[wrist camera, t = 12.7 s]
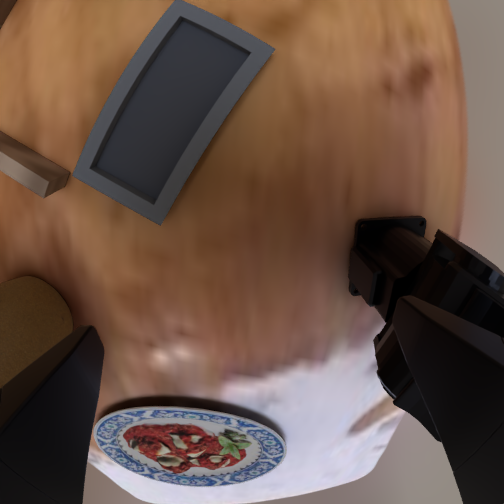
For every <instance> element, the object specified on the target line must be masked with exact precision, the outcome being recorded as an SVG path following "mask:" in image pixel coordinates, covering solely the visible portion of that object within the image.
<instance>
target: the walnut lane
mask: <svg viewBox="0 0 504 504" xmlns="http://www.w3.org/2000/svg"><path fill="white" fill-rule="evenodd" d="M16 1H17V0H0V28H1V26H2V25H3V23H4V21H5V19H6V17H7V16H8V14H9V12H10V11H11V9H12V7H13V6H14V4H15V2H16ZM0 170H1V171H2V172H4V173H5V174H7V175H8V176H10V177H11V178H13V179H14V180H16V181H17V182H19V183H20V184H22V185H24V186H25V187H27V188H28V189H30V190H31V191H33V192H34V193H36V194H38V195H39V196H41V197H42V198H45V197H47V196H49V195H51V194H52V193H54V192H56V191H58V190H60V189H62V188H63V187H65V184H66V181H67V179H68V176H69V174H70V172H68V171H67V170H65V169H63V168H62V167H60V166H58V165H56V164H55V163H53V162H51V161H50V160H48V159H46V158H45V157H43V156H41V155H39V154H38V153H36V152H34V151H33V150H31V149H29V148H28V147H26V146H24V145H23V144H21V143H19V142H18V141H16V140H14V139H13V138H11V137H9V136H8V135H6V134H4V133H3V132H1V131H0Z"/></svg>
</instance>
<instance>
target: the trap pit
mask: <svg viewBox="0 0 504 504" xmlns="http://www.w3.org/2000/svg"><path fill="white" fill-rule="evenodd" d="M274 51H275V49H274V48H273V47H271V46H270V45H268V44H266V43H265V42H263V41H261V40H260V39H258V38H256V37H255V36H253V35H251V34H249V33H248V32H246V31H244V30H242V29H240V28H239V27H237V26H235V25H233V24H231V23H229V22H227V21H225V20H223V19H221V18H219V17H217V16H215V15H213V14H211V13H209V12H207V11H205V10H203V9H200V8H198V7H196V6H194V5H191V4H189V3H187V2H184V1H182V0H175V1H174V2H173V3H172V5H171V6H170V7H169V8H168V9H167V11H166V12H165V13H164V14H163V16H162V17H161V18H160V20H159V21H158V22H157V23H156V25H155V26H154V27H153V29H152V30H151V32H150V33H149V34H148V36H147V37H146V39H145V40H144V41H143V43H142V44H141V46H140V47H139V49H138V50H137V52H136V53H135V55H134V56H133V58H132V59H131V61H130V62H129V64H128V65H127V67H126V69H125V70H124V72H123V74H122V75H121V77H120V79H119V80H118V82H117V84H116V85H115V87H114V89H113V91H112V92H111V94H110V96H109V98H108V100H107V101H106V103H105V105H104V107H103V109H102V111H101V113H100V115H99V117H98V119H97V121H96V123H95V125H94V127H93V129H92V131H91V133H90V135H89V137H88V139H87V142H86V144H85V146H84V148H83V151H82V153H81V155H80V158H79V160H78V162H77V165H76V167H75V170H74V172H73V175H72V176H74V177H75V178H77V179H79V180H81V181H82V182H84V183H86V184H87V185H89V186H91V187H93V188H94V189H96V190H98V191H100V192H101V193H103V194H105V195H107V196H108V197H110V198H112V199H114V200H115V201H117V202H119V203H121V204H123V205H124V206H126V207H128V208H130V209H131V210H133V211H135V212H137V213H139V214H140V215H142V216H144V217H146V218H147V219H149V220H151V221H153V222H155V223H156V224H158V225H160V226H161V224H162V222H163V221H164V219H165V217H166V215H167V213H168V212H169V210H170V208H171V206H172V204H173V203H174V201H175V199H176V197H177V196H178V194H179V192H180V190H181V189H182V187H183V185H184V184H185V182H186V180H187V178H188V177H189V175H190V173H191V172H192V170H193V168H194V167H195V165H196V164H197V162H198V160H199V159H200V157H201V155H202V154H203V152H204V151H205V149H206V147H207V146H208V144H209V143H210V141H211V140H212V138H213V136H214V135H215V133H216V132H217V130H218V129H219V127H220V126H221V124H222V123H223V121H224V120H225V118H226V117H227V115H228V114H229V112H230V111H231V109H232V108H233V106H234V105H235V104H236V102H237V101H238V99H239V98H240V96H241V95H242V94H243V92H244V91H245V89H246V88H247V87H248V85H249V84H250V82H251V81H252V80H253V78H254V77H255V76H256V74H257V73H258V72H259V70H260V69H261V68H262V66H263V65H264V64H265V62H266V61H267V60H268V58H269V57H270V56H271V54H272V53H273V52H274Z"/></svg>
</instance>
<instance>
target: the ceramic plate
mask: <svg viewBox="0 0 504 504" xmlns="http://www.w3.org/2000/svg"><path fill="white" fill-rule="evenodd" d="M94 438H95V441H96V443H97V445H98V447H99V448H100V449H101V450H102V451H103V452H104V453H105V454H106V455H107V456H108V457H109V458H110V459H111V460H113V461H114V462H116V463H117V464H119V465H120V466H122V467H124V468H126V469H128V470H130V471H132V472H134V473H136V474H139V475H141V476H144V477H147V478H150V479H153V480H157V481H161V482H165V483H170V484H175V485H183V486H194V487H214V486H226V485H232V484H238V483H243V482H246V481H250V480H253V479H256V478H258V477H261V476H263V475H265V474H267V473H269V472H271V471H272V470H273V469H275V468H276V467H277V466H279V465H280V464H281V463H282V461H283V460H284V458H285V456H286V452H287V448H286V444H285V442H284V440H283V439H282V437H281V436H280V435H279V434H278V433H276V432H275V431H274V430H272V429H270V428H269V427H267V426H265V425H263V424H260V423H258V422H255V421H253V420H250V419H247V418H244V417H240V416H236V415H232V414H228V413H223V412H218V411H211V410H206V409H198V408H187V407H176V406H145V407H134V408H127V409H122V410H118V411H115V412H112V413H110V414H107V415H105V416H104V417H102V418H101V419H100V420H99V421H98V422H97V424H96V425H95V428H94Z"/></svg>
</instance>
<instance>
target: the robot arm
mask: <svg viewBox="0 0 504 504" xmlns="http://www.w3.org/2000/svg"><path fill="white" fill-rule="evenodd" d="M420 221H421V224H419V223H420ZM362 224H365V226H364V227H363V228H361V225H362ZM425 228H426V219H425V218H423V217H422V216H409V217H388V218H370V219H360V220H358V221H357V223H356V227H355V239H354V246H353V248H352V249H351V257H350V267H349V276H348V277H349V279H350V285H349V291H350V293H351V295H353V296H359V295H361V296H362V297H363V298H364V300H365V301H366V303H367V304H368V305H369V306H370V307H372V306H375V308H376V309H377V311H378V312H379V314H380V315H381V316H382V318H383V319H384V321H385V322H386V325H385V326H384V328H383V329H382V331H381V332H380V334H377V335H376V337H375V338H374V340H373V341H374V347H375V356H376V360H377V365H378V370H377V376H378V378H379V379H380V381H381V384H382V386H383V388H384V390H385V391H386V392H387V393H388V394H389V395H390V396H391V397H392V398H393V399H394V400H393V404H394V405H395V406H397V407H399V408H401V409H403V410H405V411H406V412H408V413H410V414H411V415H412V416H413V417H415V418H416V419H417V420H418V421H419V422H420V423H421V424H422V425H423V426H424V427H425V428H426V429H427V430H428V431H429V432H430V434H432V436H433V437H434V438H435V439H436V440H437V441H440V442H442V444H443V447H444V449H445V451H446V454H447V457H448V460H449V462H450V465H451V468H452V471H453V474H454V477H455V480H456V483H457V486H458V488H459V492H460V495H461V498H462V501H463V504H504V273H503V272H502V271H501V270H500V269H499V268H498V267H497V266H496V265H494V264H493V263H492V262H490V261H489V260H487V259H486V258H485V257H483V256H482V255H481V254H479V253H478V252H476V251H475V250H473V249H472V248H470V247H468V246H466V245H465V244H463V243H462V242H460V241H458V240H457V239H455V238H453V237H451V236H450V235H448V234H446V233H444V232H443V231H441V230H439V229H438V230H437V232H436V234H435V236H434V237H436V238H435V240H434V242H433V244H432V243H431V242H430V241H428V240H427V239H425V238H424V235H425ZM356 288H357V290H355V291H354V289H356ZM103 359H104V347H103V344H102V342H101V340H100V337H99V335H98V333H97V330H96V328H95V327H94V326H92V325H82V326H80V327H78V328H77V329H76V330H74V331H73V332H72V333H70V334H69V335H68V336H66V337H65V338H64V339H62V340H61V341H60V342H58V343H57V344H56V345H54V346H53V347H52V348H50V349H49V350H48V351H47V352H45V353H44V354H43V355H41V356H40V357H39V358H37V359H36V360H35V361H34V362H32V363H31V364H30V365H28V366H27V367H26V368H25V369H23V370H22V371H21V372H20V373H18V374H17V375H16V376H15V377H13V378H12V379H11V380H10V381H8V382H7V383H6V384H5V385H3V386H2V388H0V504H82V503H83V491H84V482H85V474H86V465H87V459H88V452H89V446H90V440H91V434H92V428H93V423H94V418H95V413H96V408H97V403H98V398H99V391H100V382H101V374H102V366H103Z"/></svg>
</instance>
